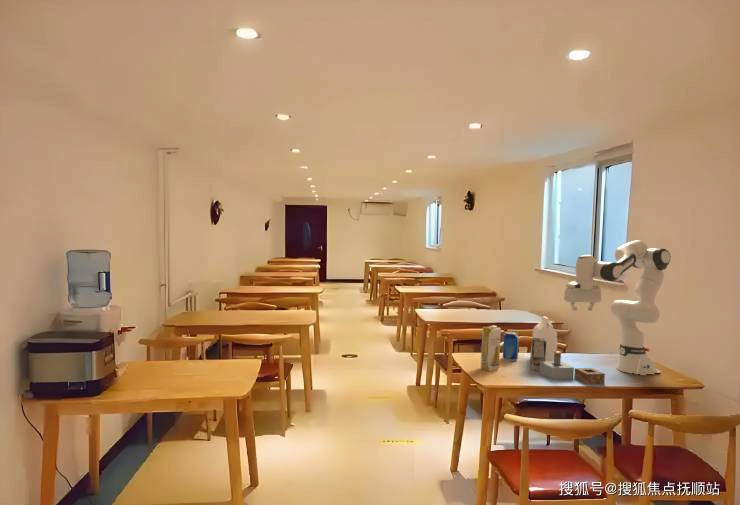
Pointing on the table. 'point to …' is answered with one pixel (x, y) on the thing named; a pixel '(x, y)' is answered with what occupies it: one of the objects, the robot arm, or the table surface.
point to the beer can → (510, 346)
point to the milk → (546, 337)
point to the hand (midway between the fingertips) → (582, 310)
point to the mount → (589, 375)
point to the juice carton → (490, 348)
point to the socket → (556, 370)
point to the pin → (557, 358)
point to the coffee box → (537, 352)
